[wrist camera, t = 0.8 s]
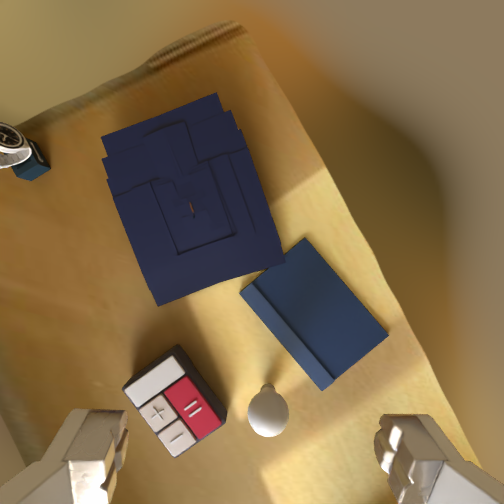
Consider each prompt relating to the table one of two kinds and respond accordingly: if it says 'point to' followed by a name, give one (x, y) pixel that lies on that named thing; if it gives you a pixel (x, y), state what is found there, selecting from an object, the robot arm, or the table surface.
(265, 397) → the lightbulb
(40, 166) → the watch
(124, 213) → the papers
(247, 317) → the table surface
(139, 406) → the button panel
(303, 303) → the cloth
